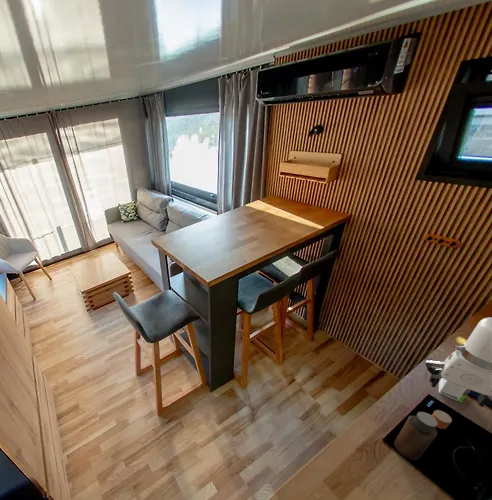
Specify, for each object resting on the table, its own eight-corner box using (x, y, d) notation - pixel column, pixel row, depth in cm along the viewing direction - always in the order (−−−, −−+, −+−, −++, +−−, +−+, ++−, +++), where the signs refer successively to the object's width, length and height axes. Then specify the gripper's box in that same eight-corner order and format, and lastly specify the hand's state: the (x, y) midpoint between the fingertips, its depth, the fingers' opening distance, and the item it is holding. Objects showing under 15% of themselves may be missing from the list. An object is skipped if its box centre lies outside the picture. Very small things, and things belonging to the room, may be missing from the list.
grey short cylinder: (432, 425, 75) (437, 417, 73) (432, 436, 73) (437, 429, 71) (413, 416, 78) (417, 408, 76) (412, 427, 75) (417, 420, 74)
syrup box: (438, 393, 94) (454, 368, 87) (438, 381, 98) (454, 356, 91) (461, 403, 90) (480, 377, 84) (461, 391, 94) (479, 365, 87)
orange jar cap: (446, 421, 86) (451, 415, 85) (447, 431, 84) (452, 425, 82) (429, 414, 89) (434, 407, 87) (429, 423, 87) (434, 417, 85)
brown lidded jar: (420, 447, 82) (437, 424, 75) (419, 465, 78) (437, 442, 72) (394, 434, 86) (408, 411, 79) (393, 450, 82) (407, 427, 75)
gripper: (436, 350, 75) (415, 385, 83) (538, 384, 63) (503, 421, 71) (436, 334, 79) (416, 369, 87) (532, 363, 68) (498, 400, 76)
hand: (455, 392), depth 79 cm, fingers open, 9 cm apart
